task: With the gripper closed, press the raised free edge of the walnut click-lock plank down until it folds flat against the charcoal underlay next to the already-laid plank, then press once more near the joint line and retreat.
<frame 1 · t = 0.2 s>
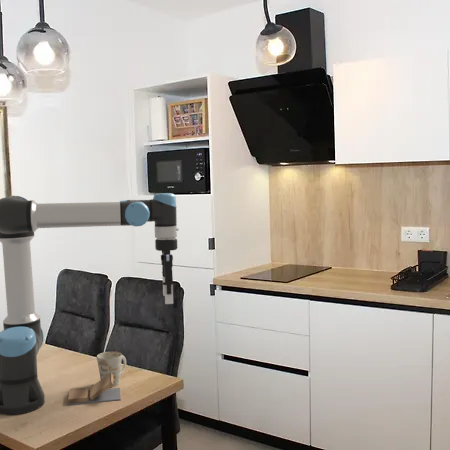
hand: (168, 299, 200), 28 cm above the table, fingers open, 13 cm apart
mug: (114, 382, 199), on the table
plank: (101, 386, 186), point 3 cm above the table, hinge at 32.0°
laid plank: (78, 398, 185), resting on underlay
underlay: (95, 396, 186), on the table
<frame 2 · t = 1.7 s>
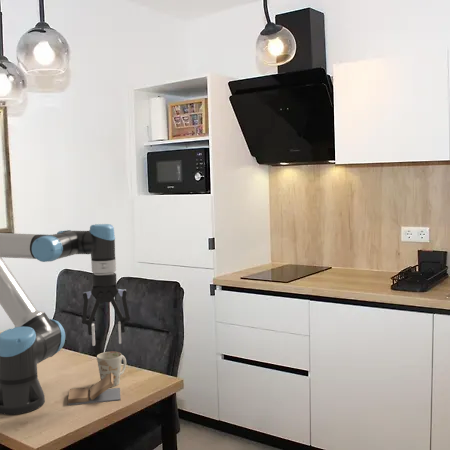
hand: (107, 343, 186), 17 cm above the table, fingers open, 8 cm apart
nothing on the table moved.
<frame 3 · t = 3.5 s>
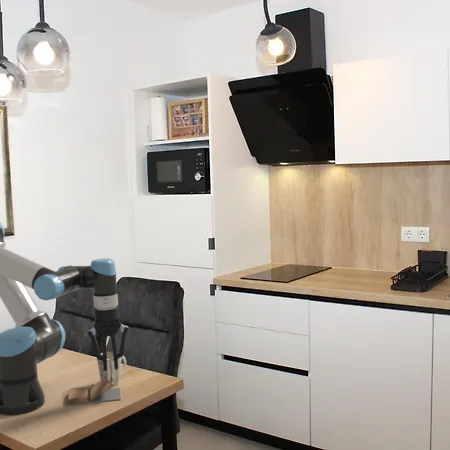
hand: (111, 379, 187), 5 cm above the table, fingers closed, pressing on plank
plank: (102, 386, 186), point 3 cm above the table, hinge at 28.6°, touching gripper
everything else where it was.
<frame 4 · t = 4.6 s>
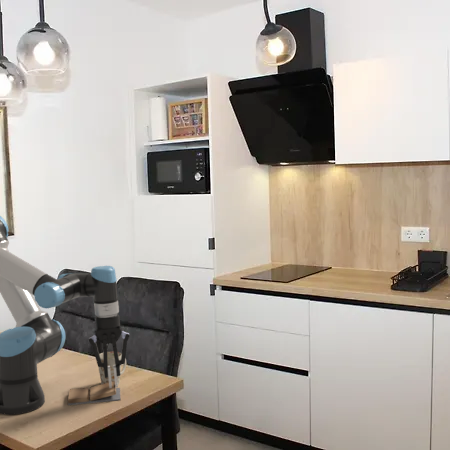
hand: (113, 386, 187), 3 cm above the table, fingers closed, pressing on plank
plank: (103, 390, 186), point 2 cm above the table, hinge at 9.3°, touching gripper
everything else where it was.
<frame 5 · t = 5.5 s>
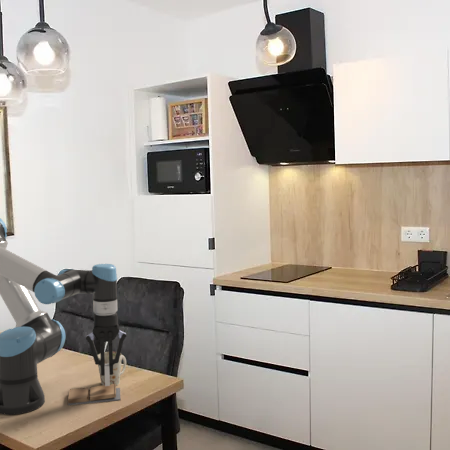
hand: (107, 384, 187), 4 cm above the table, fingers closed
plank: (103, 392, 187), point 1 cm above the table, hinge at 2.7°
everything else where it was.
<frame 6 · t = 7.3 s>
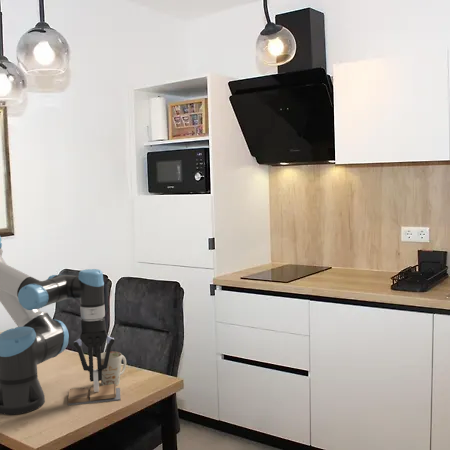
hand: (96, 390, 186), 2 cm above the table, fingers closed
plank: (103, 392, 187), point 1 cm above the table, hinge at 2.5°, touching gripper
everything else where it was.
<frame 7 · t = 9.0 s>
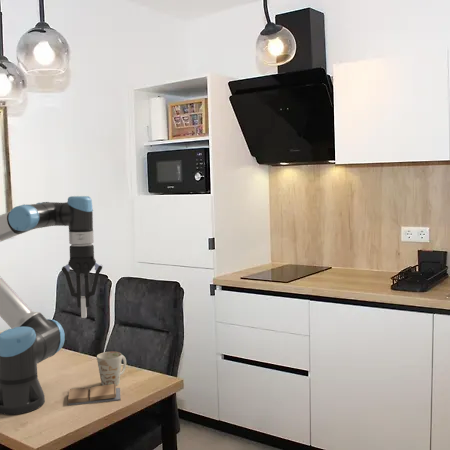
hand: (84, 317, 187), 25 cm above the table, fingers closed
plank: (103, 392, 187), point 1 cm above the table, hinge at 2.5°
everything else where it was.
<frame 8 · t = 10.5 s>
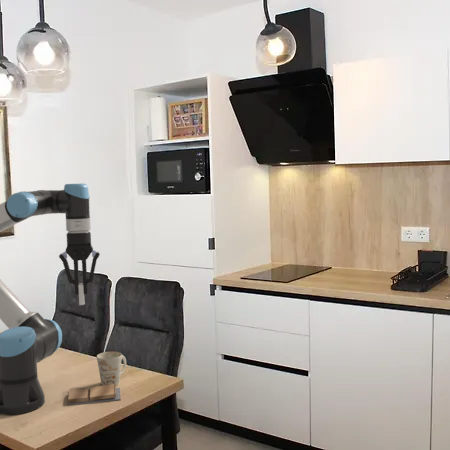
hand: (81, 304, 188), 29 cm above the table, fingers closed
nothing on the table moved.
at the end: plank at +2° (first picture: +32°) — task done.
